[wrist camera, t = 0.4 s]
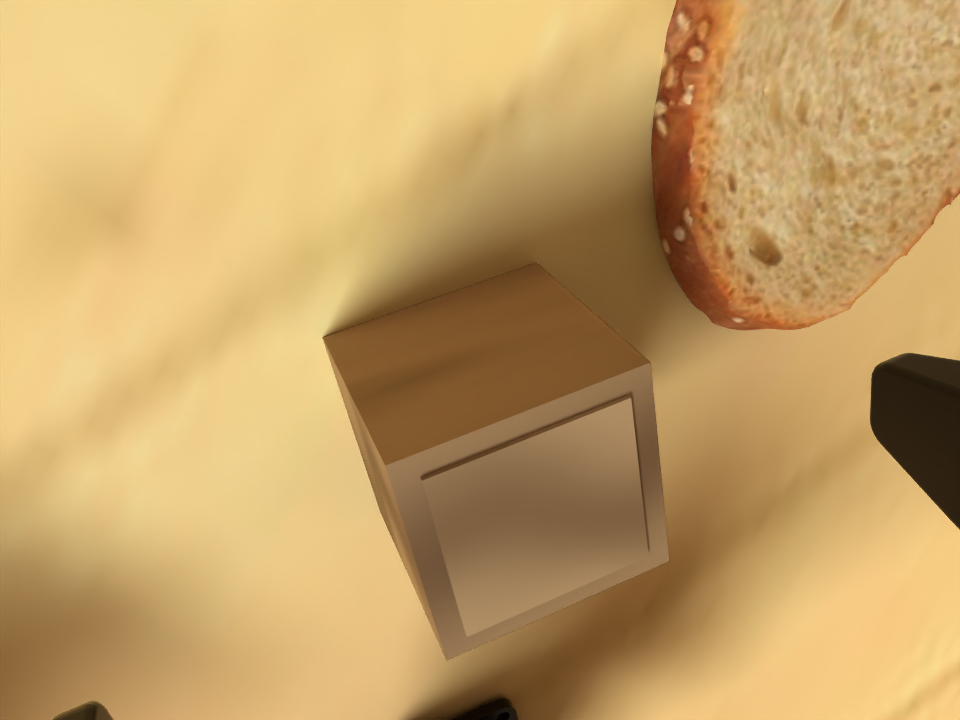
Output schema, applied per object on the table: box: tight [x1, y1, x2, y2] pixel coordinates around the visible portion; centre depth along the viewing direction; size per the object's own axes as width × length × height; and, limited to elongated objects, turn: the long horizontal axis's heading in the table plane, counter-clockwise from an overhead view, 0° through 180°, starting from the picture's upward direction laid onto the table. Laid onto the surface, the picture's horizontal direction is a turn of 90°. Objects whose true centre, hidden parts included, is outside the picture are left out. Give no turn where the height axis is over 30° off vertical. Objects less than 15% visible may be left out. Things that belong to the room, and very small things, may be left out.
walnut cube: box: [323, 263, 669, 660], centre depth 22 cm, size 6×6×6 cm
